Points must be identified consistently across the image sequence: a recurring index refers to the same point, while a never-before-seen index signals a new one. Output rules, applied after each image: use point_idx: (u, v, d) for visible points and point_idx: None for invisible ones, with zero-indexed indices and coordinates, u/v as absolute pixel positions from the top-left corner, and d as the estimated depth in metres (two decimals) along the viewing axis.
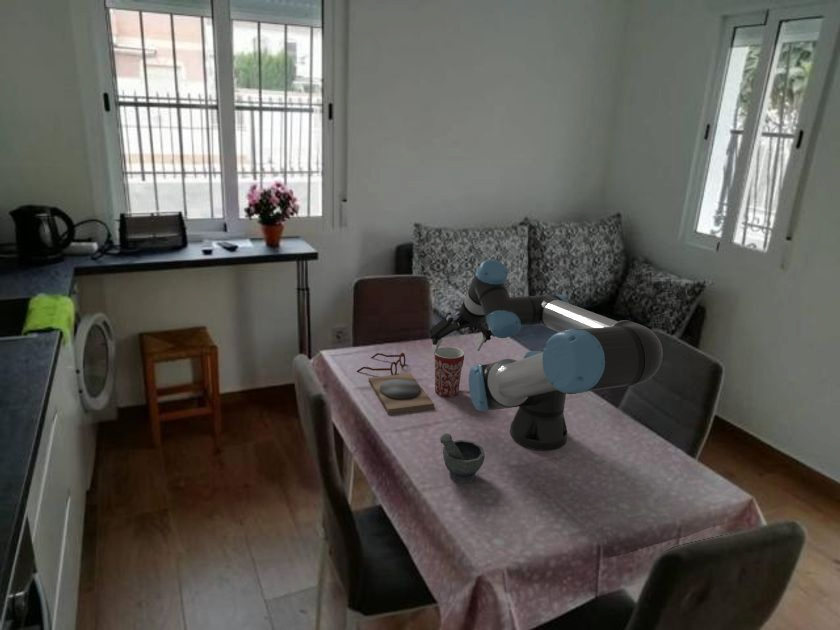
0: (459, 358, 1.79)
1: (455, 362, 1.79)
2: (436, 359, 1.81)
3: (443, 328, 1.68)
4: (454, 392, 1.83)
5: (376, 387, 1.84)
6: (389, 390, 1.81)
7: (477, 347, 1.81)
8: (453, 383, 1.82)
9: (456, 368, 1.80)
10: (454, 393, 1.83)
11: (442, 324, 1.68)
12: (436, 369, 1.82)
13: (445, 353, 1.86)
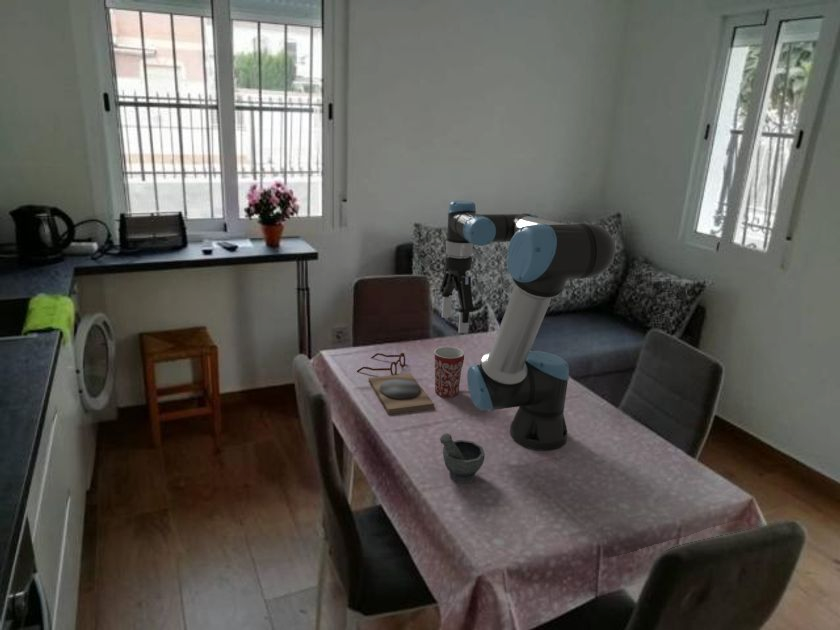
0: (459, 358, 1.79)
1: (455, 362, 1.79)
2: (436, 359, 1.81)
3: (444, 278, 1.83)
4: (454, 392, 1.83)
5: (376, 387, 1.84)
6: (389, 390, 1.81)
7: None
8: (453, 383, 1.82)
9: (456, 368, 1.80)
10: (454, 393, 1.83)
11: None
12: (436, 369, 1.82)
13: (445, 353, 1.86)
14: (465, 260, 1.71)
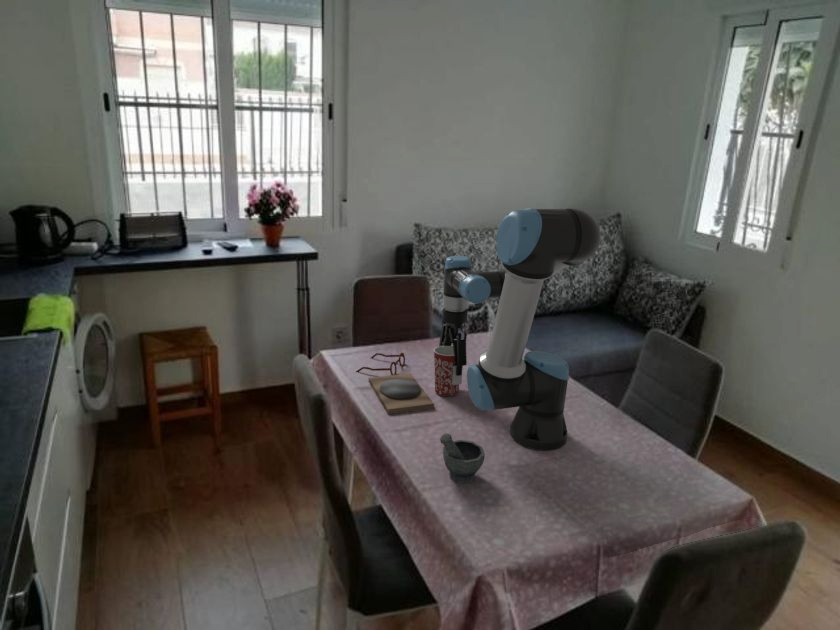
0: None
1: (454, 360, 1.80)
2: (435, 357, 1.82)
3: (441, 332, 1.88)
4: (454, 391, 1.83)
5: (376, 387, 1.84)
6: (389, 390, 1.81)
7: None
8: None
9: None
10: (454, 391, 1.83)
11: None
12: (436, 367, 1.83)
13: (444, 352, 1.87)
14: (461, 314, 1.76)
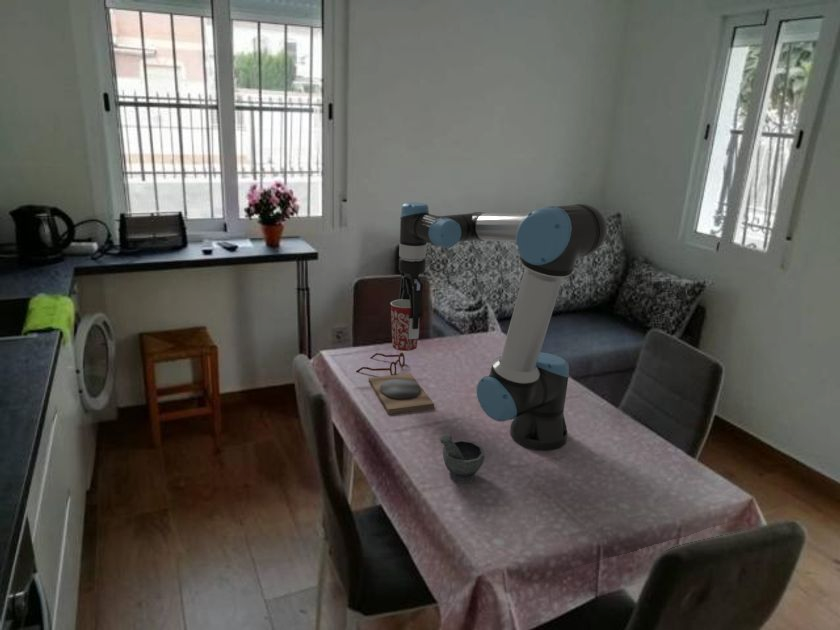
0: None
1: None
2: (392, 310, 1.74)
3: (400, 285, 1.80)
4: (411, 345, 1.75)
5: (376, 387, 1.84)
6: (389, 390, 1.81)
7: None
8: None
9: None
10: (411, 346, 1.75)
11: None
12: (392, 321, 1.75)
13: (403, 306, 1.79)
14: (418, 263, 1.68)
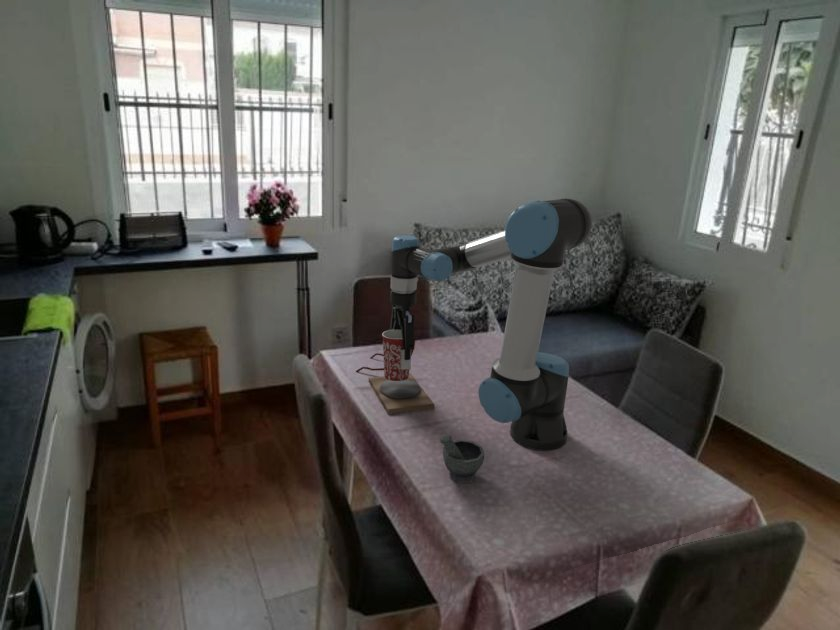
0: None
1: None
2: (384, 341, 1.75)
3: (392, 315, 1.82)
4: (403, 376, 1.77)
5: (376, 387, 1.84)
6: (389, 390, 1.81)
7: None
8: None
9: None
10: (403, 376, 1.77)
11: None
12: (384, 352, 1.77)
13: (394, 336, 1.81)
14: (409, 295, 1.70)
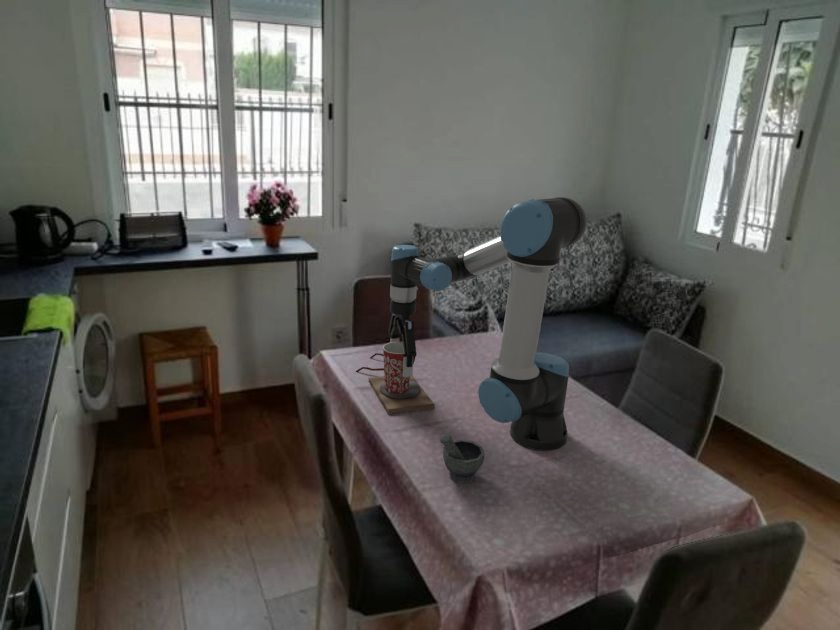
0: None
1: (403, 358, 1.74)
2: (384, 354, 1.76)
3: (391, 320, 1.83)
4: (403, 389, 1.78)
5: (376, 387, 1.84)
6: None
7: None
8: (402, 379, 1.77)
9: None
10: (403, 389, 1.78)
11: None
12: (385, 365, 1.77)
13: (395, 348, 1.81)
14: (408, 304, 1.71)
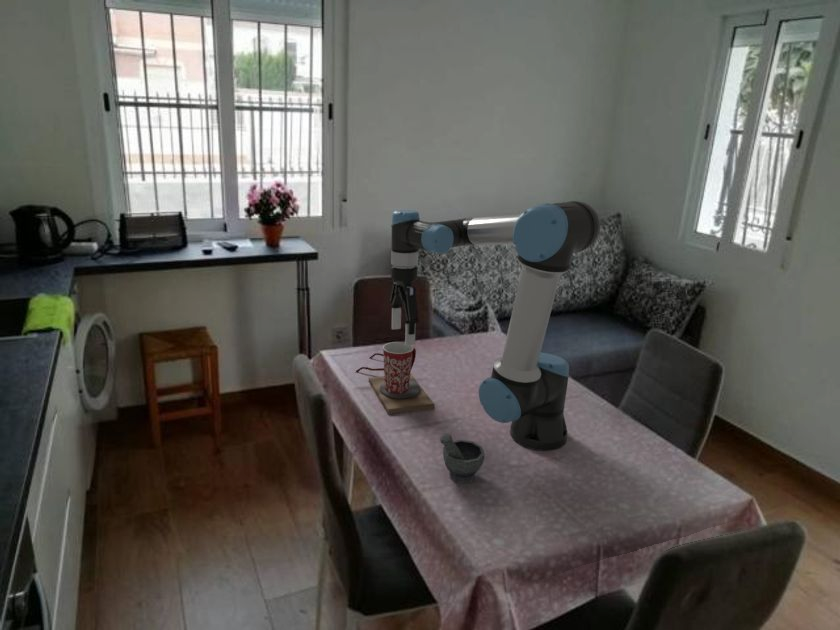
0: (407, 353, 1.74)
1: (403, 358, 1.74)
2: (384, 354, 1.76)
3: (392, 289, 1.80)
4: (403, 389, 1.78)
5: (376, 387, 1.84)
6: None
7: None
8: (402, 379, 1.77)
9: (404, 364, 1.75)
10: (403, 389, 1.78)
11: None
12: (385, 365, 1.77)
13: (395, 348, 1.81)
14: (410, 270, 1.68)
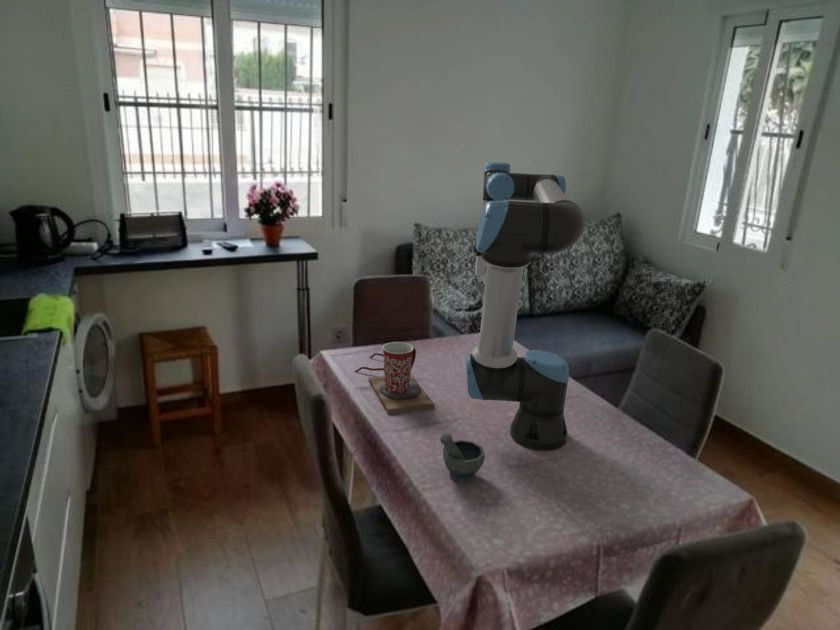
0: (407, 353, 1.74)
1: (403, 358, 1.74)
2: (384, 354, 1.76)
3: None
4: (403, 389, 1.78)
5: (376, 387, 1.84)
6: None
7: None
8: (402, 379, 1.77)
9: (404, 364, 1.75)
10: (403, 389, 1.78)
11: None
12: (385, 365, 1.77)
13: (395, 348, 1.81)
14: None
